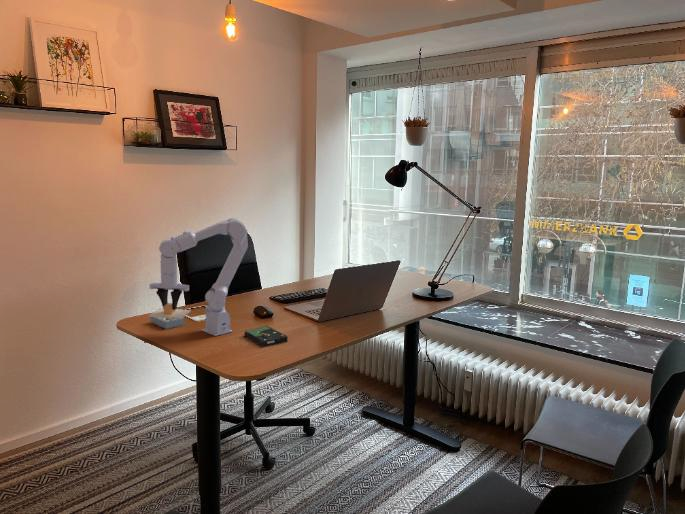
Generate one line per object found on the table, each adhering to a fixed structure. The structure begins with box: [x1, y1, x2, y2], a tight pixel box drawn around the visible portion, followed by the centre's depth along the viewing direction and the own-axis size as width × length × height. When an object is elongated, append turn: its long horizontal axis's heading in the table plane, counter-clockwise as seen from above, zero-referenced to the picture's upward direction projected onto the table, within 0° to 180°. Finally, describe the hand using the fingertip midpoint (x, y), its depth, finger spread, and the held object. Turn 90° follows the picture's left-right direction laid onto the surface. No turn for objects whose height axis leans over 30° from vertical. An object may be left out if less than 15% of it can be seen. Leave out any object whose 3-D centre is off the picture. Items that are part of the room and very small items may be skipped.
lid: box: [148, 302, 192, 319], centre depth 199 cm, size 12×8×4 cm
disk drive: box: [244, 325, 289, 348], centre depth 199 cm, size 10×3×15 cm
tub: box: [149, 317, 185, 330], centre depth 213 cm, size 12×8×3 cm, turn 48°
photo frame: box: [184, 305, 207, 322], centre depth 229 cm, size 15×1×18 cm
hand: (170, 308), depth 198 cm, fingers closed on lid, 3 cm apart
